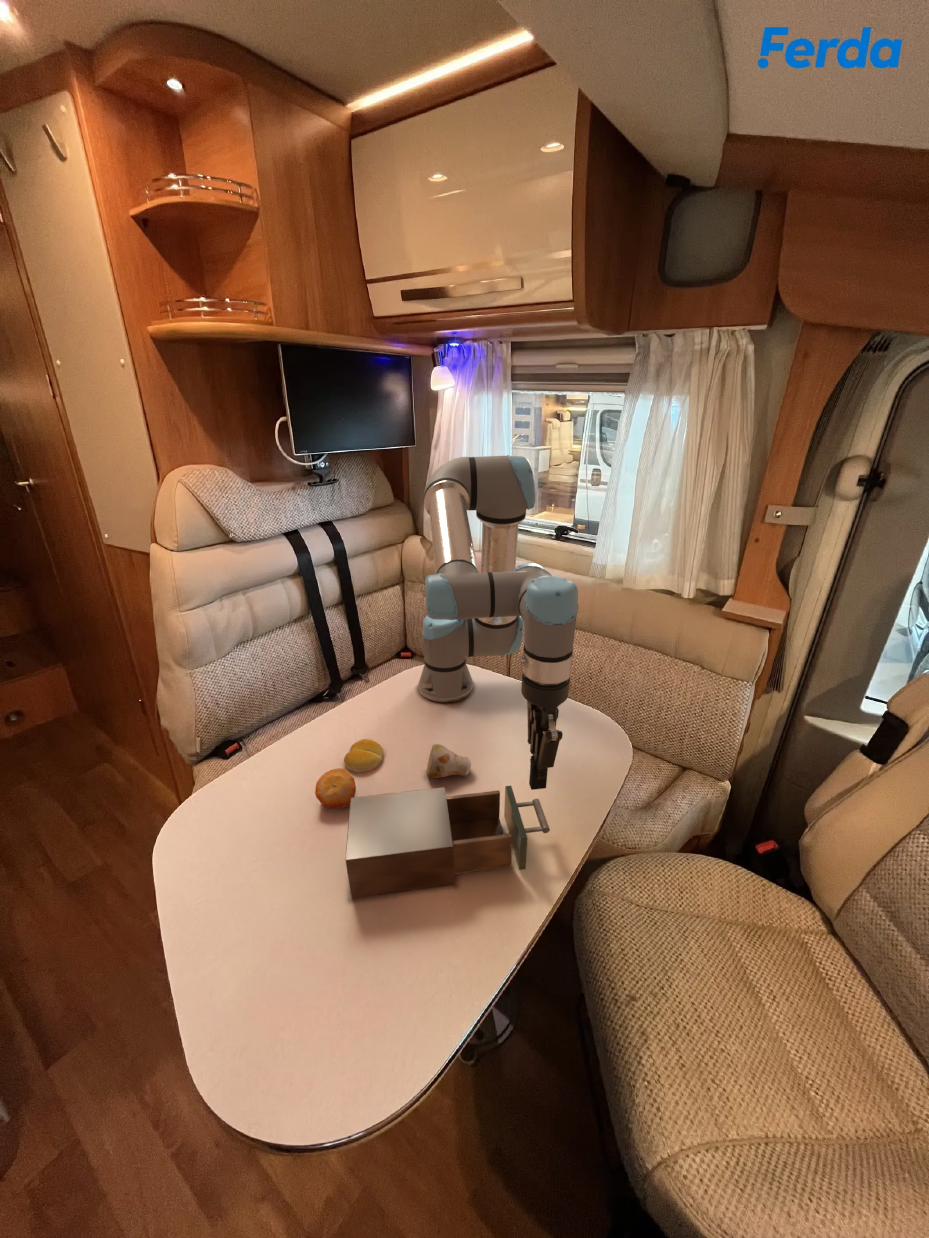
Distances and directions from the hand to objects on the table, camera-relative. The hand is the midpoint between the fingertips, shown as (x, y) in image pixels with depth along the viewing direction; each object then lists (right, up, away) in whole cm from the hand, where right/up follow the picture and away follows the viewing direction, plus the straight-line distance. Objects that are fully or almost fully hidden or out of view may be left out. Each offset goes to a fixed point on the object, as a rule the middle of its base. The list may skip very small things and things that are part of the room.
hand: (537, 785), depth 89 cm
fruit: (-40, -8, +15) cm, 43 cm away
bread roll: (-36, -3, +27) cm, 45 cm away
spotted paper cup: (-17, -5, +23) cm, 29 cm away
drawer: (-9, -12, +4) cm, 16 cm away
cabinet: (-24, -14, +3) cm, 28 cm away
